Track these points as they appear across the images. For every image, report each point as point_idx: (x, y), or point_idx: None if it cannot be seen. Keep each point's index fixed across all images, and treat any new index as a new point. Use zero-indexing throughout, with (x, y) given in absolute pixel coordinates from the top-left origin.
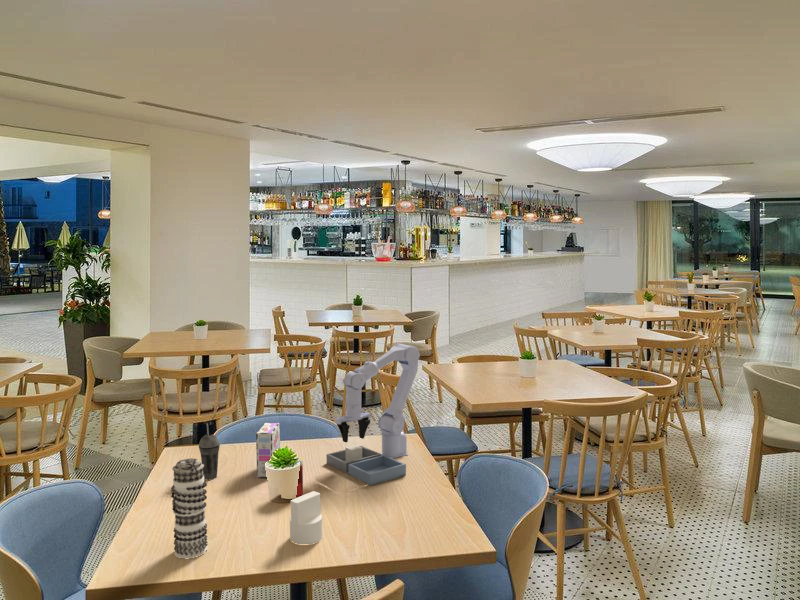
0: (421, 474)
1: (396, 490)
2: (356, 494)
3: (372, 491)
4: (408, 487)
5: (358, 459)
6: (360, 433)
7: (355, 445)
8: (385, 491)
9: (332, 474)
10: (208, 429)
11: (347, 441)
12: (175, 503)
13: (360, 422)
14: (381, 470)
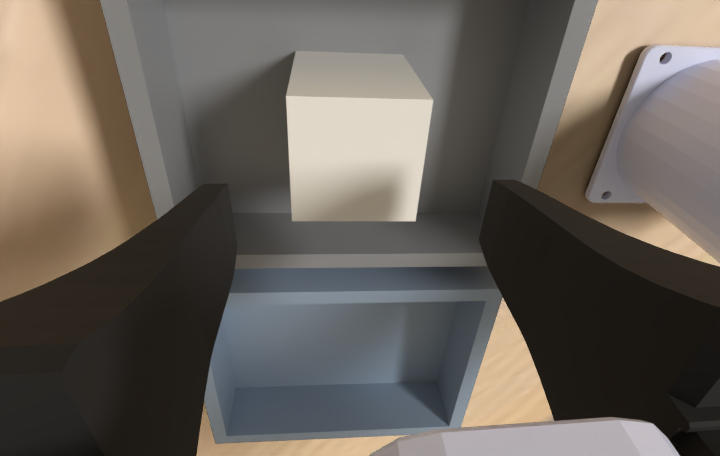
0: (496, 402)
1: (294, 451)
2: None
3: (204, 425)
4: (350, 452)
5: (301, 258)
6: (515, 229)
7: (422, 116)
8: (251, 442)
9: (98, 167)
10: None
11: (234, 255)
12: None
13: (625, 366)
14: (300, 435)
